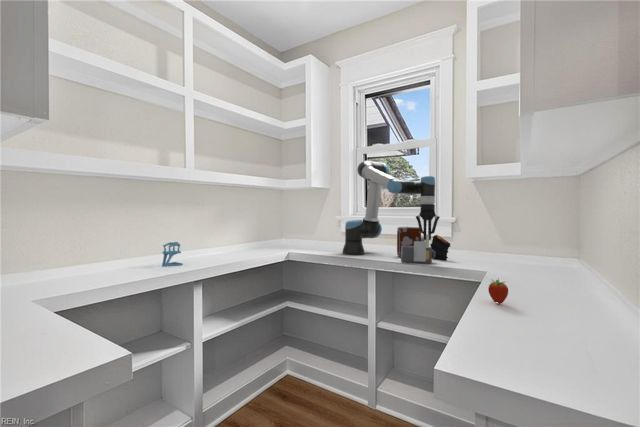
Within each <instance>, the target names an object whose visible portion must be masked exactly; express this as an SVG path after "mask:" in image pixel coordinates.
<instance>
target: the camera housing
mask: <svg viewBox="0 0 640 427" xmlns="http://www.w3.org/2000/svg"><path fill="white" fill-rule="evenodd" d="M434 257H435V251H434V250H432V248H431V246H430V245H429V246H426V262H420V261H414V246H409V245H405V246H401V257H400V261H401V263H402V264H403V263H404V264H409V265H410V264H415V265H418V264H419V265H431V264H432V261H433V260H435V259H434ZM432 258H433V259H432Z"/></svg>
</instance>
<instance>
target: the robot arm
mask: <svg viewBox="0 0 640 427" xmlns="http://www.w3.org/2000/svg"><path fill="white" fill-rule="evenodd" d="M356 169H357V174H358V176H359V177H361V178H363V179H364V180H366V181H367V182H368V189H367V190H368V191H367V199H366V206H365V207H366V209H365V215H364V217H363V218H362V219H355V220H348V221H346V222H345V227H344V229H345V230H344V231H345V234H344V236H345V241H344V245H343V249H342V254H343V255H349V256H362V255H365V248H364V246H363V239H375V238H379V236H380V235H381V234H382V230H383V228H382V224H381V222H380V220H379V218H378V216H379V208H380V198H381V190H382V187H384V188H386V189H387V191H388V192H389V193H391V194H399V195H401V194H402V195H403V194H405V195H420V212H419V214H418V215H417V216H416V215H415V219H416V220H417V224H418V225H417V226H418V227H419V229H420V232H421V234H423V236H422V238H423V239H424V240H425V242H426V246H429V247H430V241H431V240H432V234H435V232H436V228H437V225H438V221H439V220H440V216H438V215H437V214H436V210H435V209H436V206H435V203H436V200H435V198H436V194H435V193H436V192H435V191H436V180H435V179H436V178H435V176H431V175H429V176H428V175H426V176H425V175H424V176H422V177H421V176H420V180H417V181H414V180H413V181H411V180H400V179H399V178H396V177H394V176H391V175H390V169H389V166H388V165H387V163H385V162H381V161H372V160H363V161H361V162H360V163H359V164H358V166H357V168H356ZM421 219H422V220H423V227H422V222H421ZM433 219H434V221H433V225H432V220H433ZM427 222H428V224H427ZM427 227H428V228H427ZM427 230H428V231H427Z"/></svg>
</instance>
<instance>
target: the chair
mask: <svg viewBox="0 0 640 427" xmlns="http://www.w3.org/2000/svg"><path fill="white" fill-rule="evenodd" d="M162 246H163V251H162V254H163V260H162V264H161V266H162V267H174V266H175V267H176V266H183V265H184V263H182V262H179V261H173V262H172V261H171V259H172V258H173V257H174V255H178V254H181V253H182V251H181V250H180V249H181V248H180V247H181V244H180V243H179V242H178V241H175V242H167V243H166V244H163V245H162ZM166 247H168V251H167V248H166ZM175 247H177V250H175V249H176V248H175ZM171 248H172V249H171Z"/></svg>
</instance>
